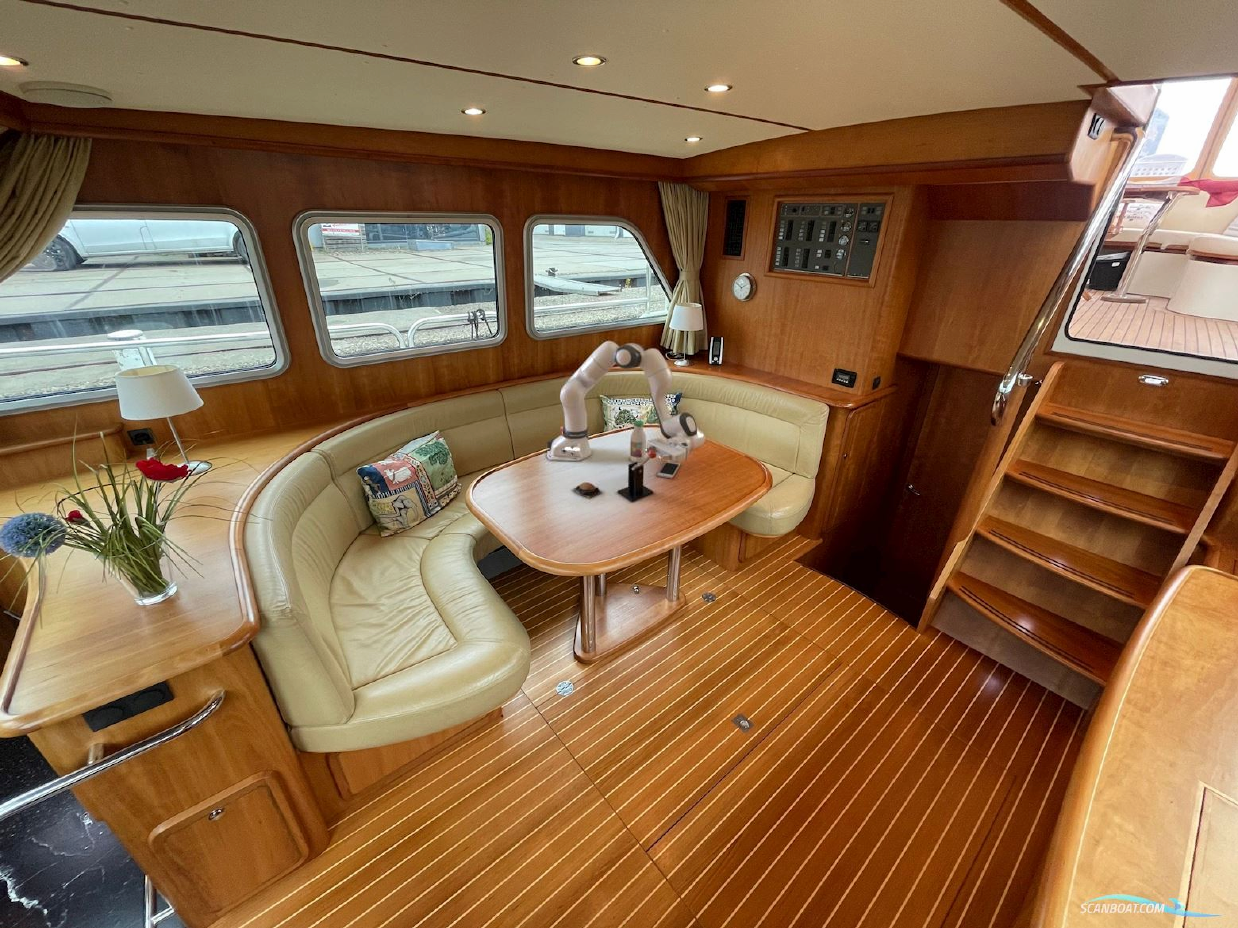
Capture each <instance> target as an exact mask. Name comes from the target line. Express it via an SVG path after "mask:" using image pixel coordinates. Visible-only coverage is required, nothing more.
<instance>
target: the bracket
mask: <svg viewBox="0 0 1238 928" xmlns="http://www.w3.org/2000/svg"><path fill="white" fill-rule="evenodd" d="M635 464H637V465H639V462H634V461H633V462H631V463H628V465H627V466H628V468H627V469H628V471H627V472H628V473H627V474H628V475H627V484H628V485H627V487H624V488H622V489H618V490H617V493H618V494H619V495H620V496H622V497H623V498H624V499H626V500H627V501H629V502H630V503H634V502H636V501H640V500H641V499H644V498H647V497H649V496H651V495H654V491H653V490H652V489H650V488H649V487H647V486H646V485H644V469H645V468H644V467H645V465H641V466H638V467H635V468H634V472H633V471H632V469H631V468H632V467H633V466H634V465H635Z"/></svg>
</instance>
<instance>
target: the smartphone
mask: <svg viewBox="0 0 1238 928" xmlns="http://www.w3.org/2000/svg"><path fill="white" fill-rule="evenodd" d="M680 466H681V462H679V463H675V462H673V461H670V460H665V463H664V464H663V465H662V467H661V469H659V471H658V473H657V477H660V478H666V479H673V478H674V476H675V474H676V473H677V471H678V470H679V468H680Z"/></svg>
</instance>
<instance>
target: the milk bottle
mask: <svg viewBox="0 0 1238 928" xmlns="http://www.w3.org/2000/svg"><path fill="white" fill-rule="evenodd" d="M629 447H630V449H629V452H630V453H629V455H630V456H629V459H630V461H631V462H633V463H634V462H638V463H641V462H642V461H643V460H644V459H645V458H647V453H646V452H644V449H645V448H647V436H646V434H645V430H644V421H642V420H634V422H633V430H632V433H631V435H630V446H629Z"/></svg>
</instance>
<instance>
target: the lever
mask: <svg viewBox="0 0 1238 928" xmlns="http://www.w3.org/2000/svg"><path fill="white" fill-rule="evenodd" d="M647 455H648V456H646V458H645V459H644V460H643V461H642V462H639V463H638V465H637V464H635V465H634V466H633V467H632V468H631V469H632V471H633V472H634V468H635V467H638V466H641V465H643V466H645V464H646V463H647V462H649V460H651V459H652V460H653V459H655V458H657V453H656V452H655V451H654V450H651V451H650V452H649V453H647Z"/></svg>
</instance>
